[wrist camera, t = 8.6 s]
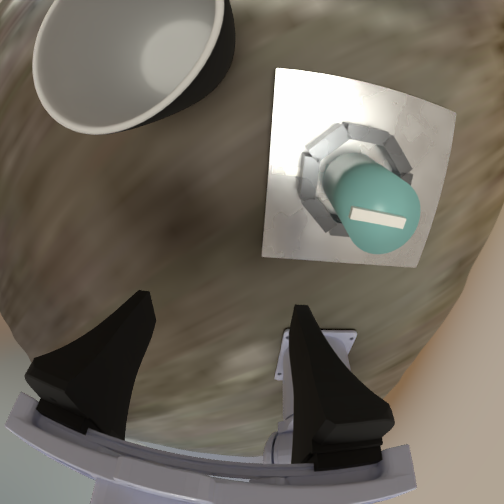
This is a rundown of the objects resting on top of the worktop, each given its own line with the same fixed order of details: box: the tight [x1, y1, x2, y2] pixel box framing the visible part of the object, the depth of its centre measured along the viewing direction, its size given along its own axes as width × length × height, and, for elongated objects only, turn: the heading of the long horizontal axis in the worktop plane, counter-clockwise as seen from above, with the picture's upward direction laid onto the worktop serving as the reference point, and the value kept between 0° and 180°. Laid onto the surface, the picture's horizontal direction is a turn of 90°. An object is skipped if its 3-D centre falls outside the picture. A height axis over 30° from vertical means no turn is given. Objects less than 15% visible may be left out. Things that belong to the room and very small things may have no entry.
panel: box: [262, 68, 456, 268], centre depth 18 cm, size 14×14×3 cm
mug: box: [33, 0, 235, 135], centre depth 11 cm, size 12×9×10 cm
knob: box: [323, 152, 421, 254], centre depth 15 cm, size 4×4×6 cm
